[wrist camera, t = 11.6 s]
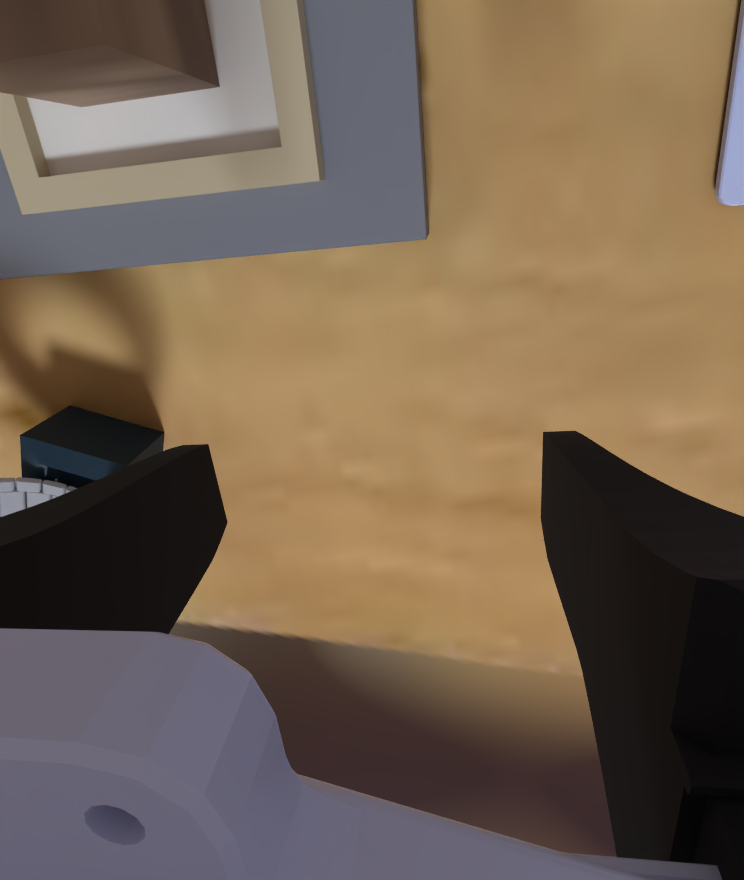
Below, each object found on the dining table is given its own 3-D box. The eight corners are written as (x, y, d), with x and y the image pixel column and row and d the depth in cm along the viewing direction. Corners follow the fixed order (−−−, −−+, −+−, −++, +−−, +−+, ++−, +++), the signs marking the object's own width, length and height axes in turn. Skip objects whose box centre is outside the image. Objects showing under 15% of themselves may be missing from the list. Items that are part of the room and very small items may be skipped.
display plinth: (394, -372, 14) (381, -494, 11) (428, 233, 19) (425, 242, 17) (-151, -223, 16) (-260, -294, 14) (22, 272, 22) (-33, 284, 20)
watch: (26, 393, 24) (-262, 539, 15) (203, 443, 24) (32, 626, 15) (30, 497, 27) (-214, 684, 17) (190, 544, 27) (37, 758, 17)
